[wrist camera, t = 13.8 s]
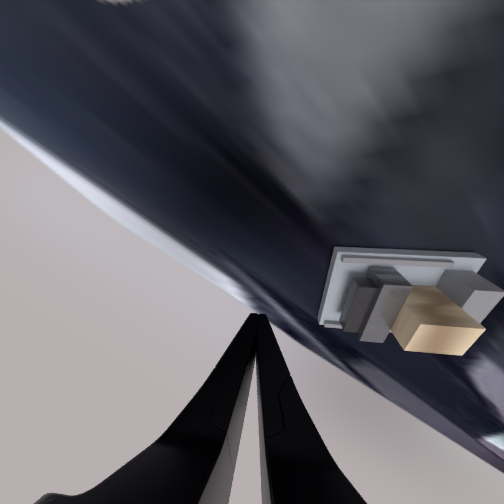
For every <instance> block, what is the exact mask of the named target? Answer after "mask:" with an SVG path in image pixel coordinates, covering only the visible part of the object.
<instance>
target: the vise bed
mask: <svg viewBox="0 0 504 504" xmlns="http://www.w3.org/2000/svg"><path fill="white" fill-rule="evenodd" d="M486 259H487V258H485V257H483V256H481V255H479V254H477V253H474V252H450V251H427V250H403V249H379V248H355V247H334V250H333V254H332V258H331V263H330V267H329V271H328V275H327V279H326V284H325V288H324V292H323V296H322V300H321V304H320V309H319V313H318V321H319V324H320V325H324V326H325V327H331V328H342V326H341V324H340V321H339V319H340V315H341V312H342V309H343V306H344V303H345V300H346V297H347V294H348V291H349V287H350V284H351V281H352V278H353V277H360V278H365V277H366V274H367V271H368V269H369V267H388V268H395V269H396V270H397V271H398V272H399V273H400V274H401V275H402V276H403V277H404V278H405V279H406V280H407V281H408V282H409V283H410V284H411V285H422V286H436V287H437V288H438V289H439V290H440V291H442V292H443V293H444V294H445V295H446V296H447V297H449V298H450V299H451V300H452V301H453V302H455V303H456V304H457V305H458V306H459V307H460V308H462V309H463V310H464V311H465V312H466V313H467V314H469V315H470V316H471V317H472V318H473V319H475V320H476V321H477V322H478V323H479V324H480V323H481V322H482V320H483V319H484V318H485V317H486V316H487V315H488V313H489V312H490V311H491V310H492V309H493V308H494V307H495V305H496V304H497V303H498V302H499V301H500V300H501V298H502V297H503V296H504V290H502V289H501V288H499V287H498V286H496V285H494V284H493V283H491V282H489V281H488V280H486V279H485V278H483V277H481V276H480V275H478V274H476V273H477V272H478V270H479V269H480V267H481V266H482V265H483V263H484V262H485V260H486ZM389 332H392V331H391V330H390V331H389Z"/></svg>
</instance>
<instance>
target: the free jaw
mask: <svg viewBox="0 0 504 504" xmlns="http://www.w3.org/2000/svg"><path fill="white" fill-rule="evenodd" d="M412 288H413V286H412V285H411V284H410V283H409V282H408V281H407V280H406V279H405V278H404V277H403V276H402V275H401V274H400V273H399V272H398V271H397V270H396V269H395V268H388V267H369V269H368V271H367V274H366V277H365V278H360V277H353V278H352V281H351V284H350V287H349V291H348V294H347V297H346V300H345V303H344V306H343V309H342V312H341V315H340V319H339V321H340V324H341V326H342V329H343V331H346V332H356V334H357V336H358V338H359V341H367V342H379V343H383V342H384V340H385V339H386V337H387V335H388V333H389V331H390V329H391V327H392V325H393V324H394V322H395V320H396V318H397V316H398V314H399V312H400V310H401V309H402V307H403V305H404V303H405V301H406V299H407V297H408V295H409V294H410V292H411V290H412Z"/></svg>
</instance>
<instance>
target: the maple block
mask: <svg viewBox="0 0 504 504" xmlns="http://www.w3.org/2000/svg"><path fill="white" fill-rule="evenodd" d="M412 286H413V288H412V290H411V292H410V294H409V295H408V297H407V299H406V301H405V303H404V305H403V307H402V309H401V310H400V312H399V314H398V316H397V318H396V320H395V322H394V324H393V325H392V327H391V329H390V330H391V331H392V333H393V334H394V336H395V337H396V339H397V340H398V342H399V343H400V345H401V347H402V348H403V350H405V351H416V352H427V353H439V354H450V355H463V354H464V353H465V352H466V351H467V350H468V349H469V347H470V346H471V345H472V344H473V343H474V342H475V341H476V340H477V339H478V337H479V336H480V335H481V334H482V333H483V332H484V331H485V330H486V329H485V328H484V327H483V326H482V325H480V324H479V323H478V322H477V321H476V320H475V319H473V318H472V317H471V316H470V315H469V314H467V313H466V312H465V311H464V310H463V309H462V308H460V307H459V306H458V305H457V304H456V303H455V302H453V301H452V300H451V299H450V298H449V297H447V296H446V295H445V294H444V293H443V292H442V291H440V290H439V289H438V288H437V287H436V286H422V285H412Z"/></svg>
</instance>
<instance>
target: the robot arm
mask: <svg viewBox="0 0 504 504" xmlns="http://www.w3.org/2000/svg"><path fill="white" fill-rule="evenodd" d="M255 358H256V371H257V372H256V374H257V395H258V396H257V397H258V420H259V444H260V466H261V490H262V504H367V503H366V502H365V501H364V499H363V498H362V497H361V495H360V494H359V493H358V492H357V490H356V489H355V488H354V487H353V485H352V484H351V483H350V481H349V480H348V479H347V478H346V477H345V475H344V474H343V473H342V471H341V470H340V469H339V467H338V466H337V464H336V463H335V461H334V459H333V458H332V456H331V454H330V453H329V451H328V449H327V447H326V446H325V444H324V442H323V440H322V438H321V436H320V434H319V432H318V431H317V429H316V427H315V425H314V423H313V421H312V419H311V417H310V416H309V414H308V412H307V410H306V408H305V406H304V404H303V402H302V400H301V398H300V396H299V394H298V391H297V389H296V387H295V384H294V382H293V379H292V377H291V376H290V373H289V370H288V367H287V365H286V362H285V360H284V357H283V355H282V352H281V350H280V348H279V345H278V343H277V340H276V338H275V335H274V333H273V330H272V328H271V325H270V323H269V320H268V318H267V315H266V314H257V313H251V314H250V315H249V316H248V318H247V319H246V321H245V322H244V324H243V325H242V327H241V328H240V330H239V331H238V333H237V334H236V336H235V337H234V339H233V340H232V342H231V343H230V345H229V346H228V348H227V349H226V351H225V353H224V354H223V356H222V357H221V359H220V360H219V362H218V363H217V365H216V366H215V368H214V369H213V371H212V372H211V374H210V375H209V377H208V378H207V380H206V381H205V382H204V384H203V385H202V387H201V388H200V389H199V390H198V392H197V393H196V394H195V396H194V397H193V398H192V399H191V401H190V402H189V403H188V404H187V405H186V407H185V408H184V409H183V410H182V412H181V413H180V414H179V415H178V417H177V418H176V419H175V420H174V421H173V423H172V424H171V425H170V426H169V427H168V429H167V430H166V431H165V432H164V433H163V434H162V435H161V436H160V437H159V438H158V439H157V440H156V441H155V442H154V443H152V444H151V445H150V446H149V447H147V448H146V449H145V450H143V451H142V452H141V453H139V454H138V455H137V456H135V457H134V458H133V459H132V460H130V461H129V462H127V463H126V464H125V465H124V466H122V467H121V468H120V469H118V470H117V471H116V472H114V473H113V474H112V475H110V476H109V477H108V478H106V479H105V480H104V481H102V482H101V483H100V484H98V485H97V486H95V487H94V488H92V489H90V490H88V491H86V492H85V493H82V494H79V495H74V496H69V495H64V494H57V493H47V494H45V495H43V496H42V497H41V498H40V499H39V500H37V501H36V502H35V503H34V504H228V502H229V497H230V492H231V486H232V481H233V474H234V470H235V465H236V459H237V454H238V449H239V443H240V438H241V433H242V428H243V422H244V417H245V412H246V406H247V401H248V396H249V390H250V385H251V380H252V374H253V369H254V363H255Z"/></svg>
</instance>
